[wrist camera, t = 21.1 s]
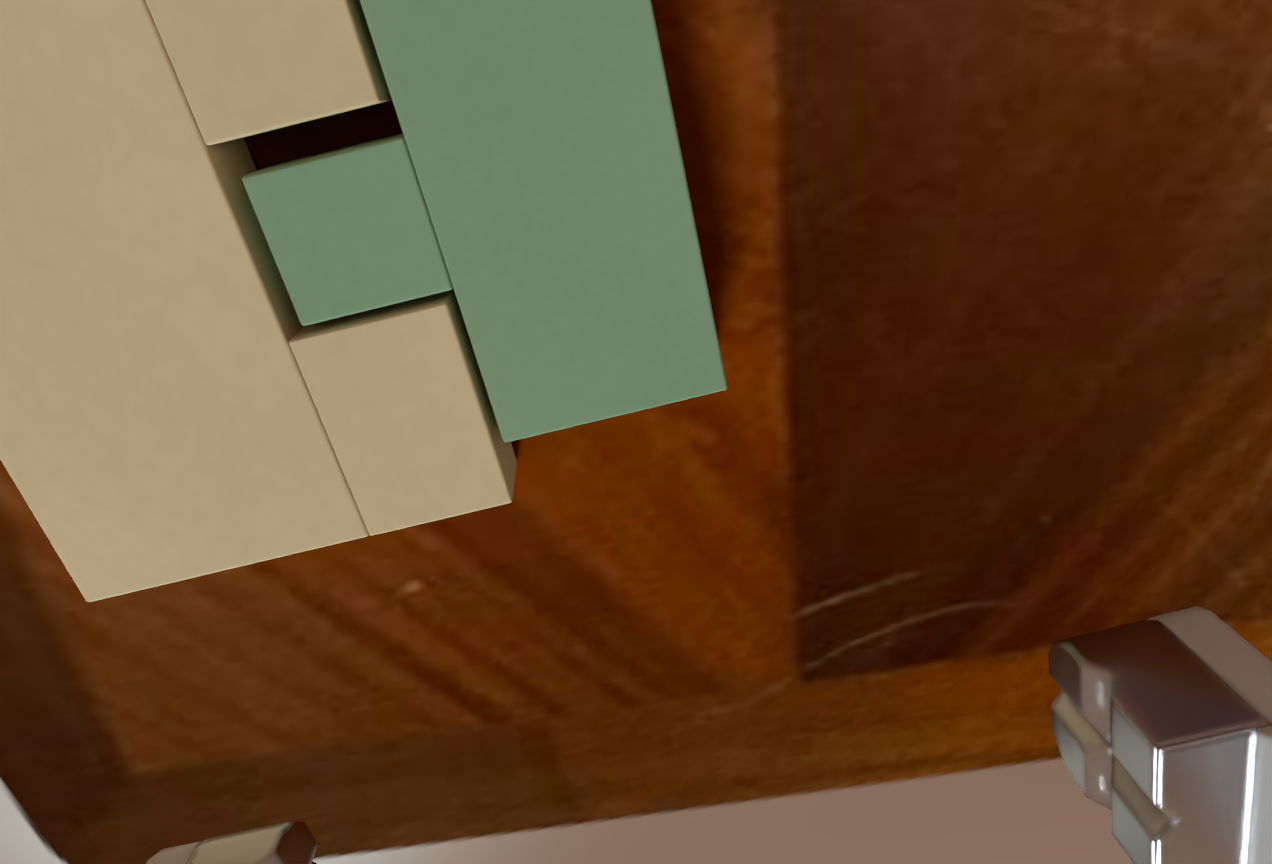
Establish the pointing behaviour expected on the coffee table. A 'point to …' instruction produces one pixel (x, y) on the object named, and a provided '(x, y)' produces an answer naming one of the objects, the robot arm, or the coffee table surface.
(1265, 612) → the coffee table surface
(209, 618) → the coffee table surface
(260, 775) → the coffee table surface
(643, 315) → the green pad
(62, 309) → the beige pad
